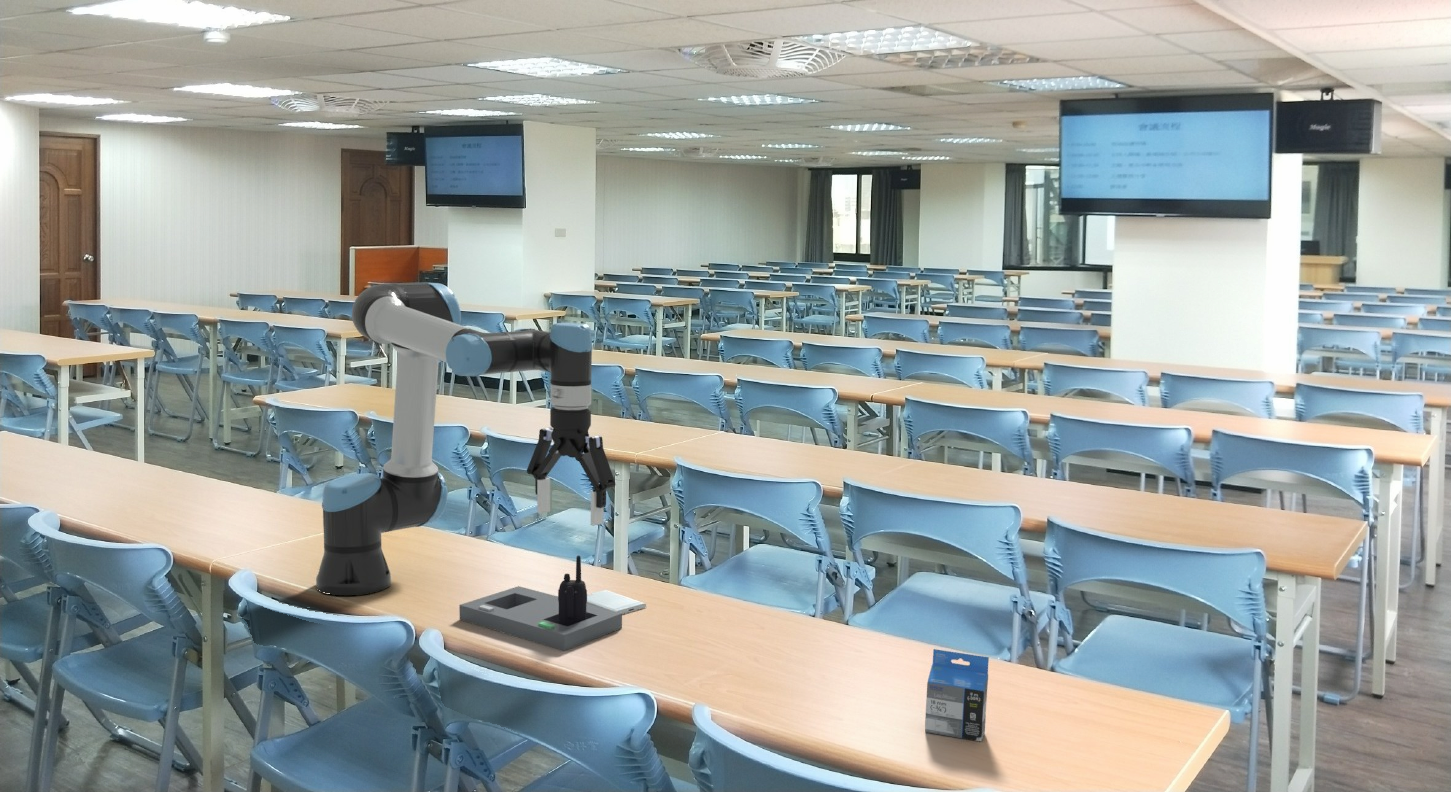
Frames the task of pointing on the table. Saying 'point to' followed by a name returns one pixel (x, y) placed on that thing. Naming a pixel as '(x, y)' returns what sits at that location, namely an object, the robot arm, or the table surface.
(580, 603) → the two-way radio
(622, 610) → the hard drive
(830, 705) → the table surface
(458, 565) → the table surface
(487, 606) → the charging base
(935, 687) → the label tape cartridge
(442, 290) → the robot arm
